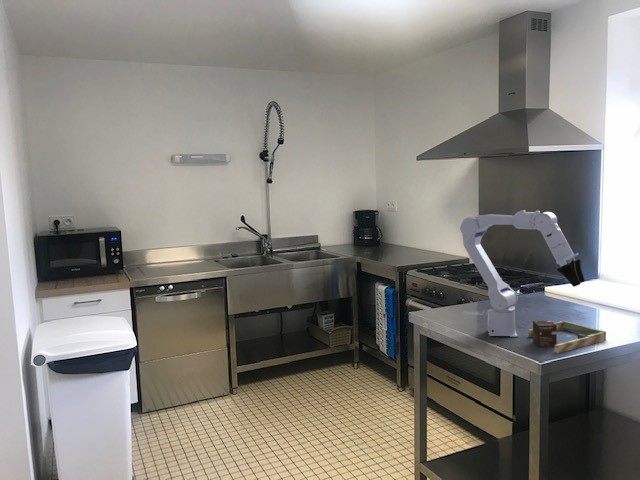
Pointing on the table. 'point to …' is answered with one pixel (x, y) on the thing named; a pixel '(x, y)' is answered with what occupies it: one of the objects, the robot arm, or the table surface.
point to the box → (544, 333)
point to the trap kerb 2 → (581, 336)
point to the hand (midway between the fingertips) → (579, 284)
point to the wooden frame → (591, 333)
